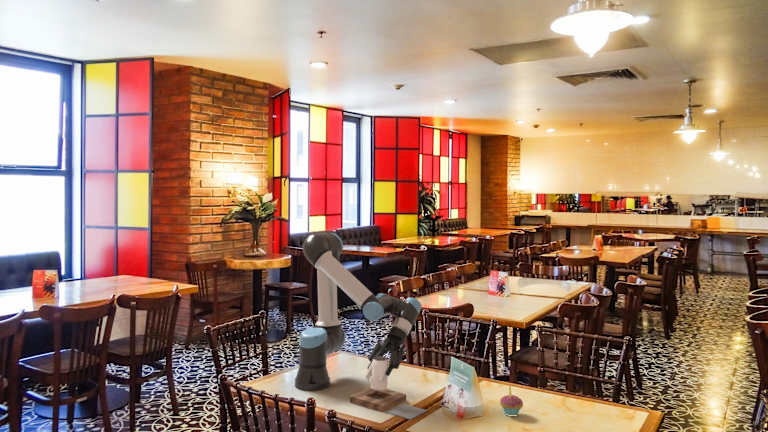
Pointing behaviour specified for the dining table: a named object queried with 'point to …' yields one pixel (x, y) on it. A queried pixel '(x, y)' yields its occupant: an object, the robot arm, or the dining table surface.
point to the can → (378, 373)
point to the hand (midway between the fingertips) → (374, 379)
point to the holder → (369, 401)
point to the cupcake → (511, 403)
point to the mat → (406, 411)
